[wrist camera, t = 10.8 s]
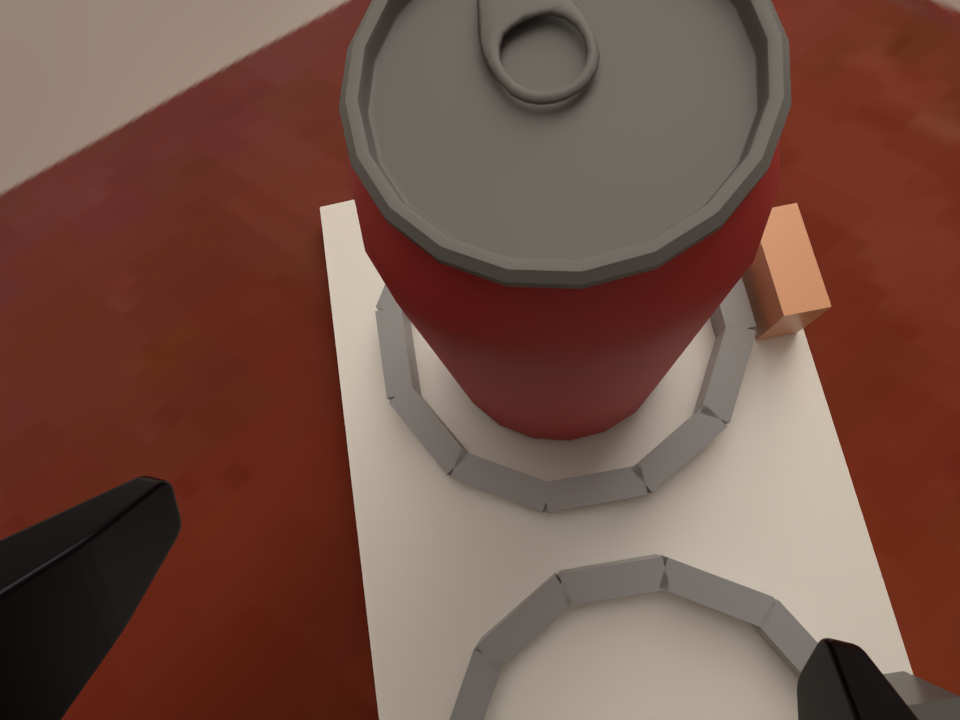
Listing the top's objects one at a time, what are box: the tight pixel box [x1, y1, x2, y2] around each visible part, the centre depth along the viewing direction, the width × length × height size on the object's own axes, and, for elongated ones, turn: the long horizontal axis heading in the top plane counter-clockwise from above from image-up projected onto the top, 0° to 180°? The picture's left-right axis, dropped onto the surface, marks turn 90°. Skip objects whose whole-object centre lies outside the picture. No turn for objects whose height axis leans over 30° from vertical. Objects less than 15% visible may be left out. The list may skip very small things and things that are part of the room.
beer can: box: [339, 0, 791, 441], centre depth 13 cm, size 7×7×12 cm
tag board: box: [320, 200, 960, 720], centre depth 17 cm, size 24×14×3 cm, turn 10°
